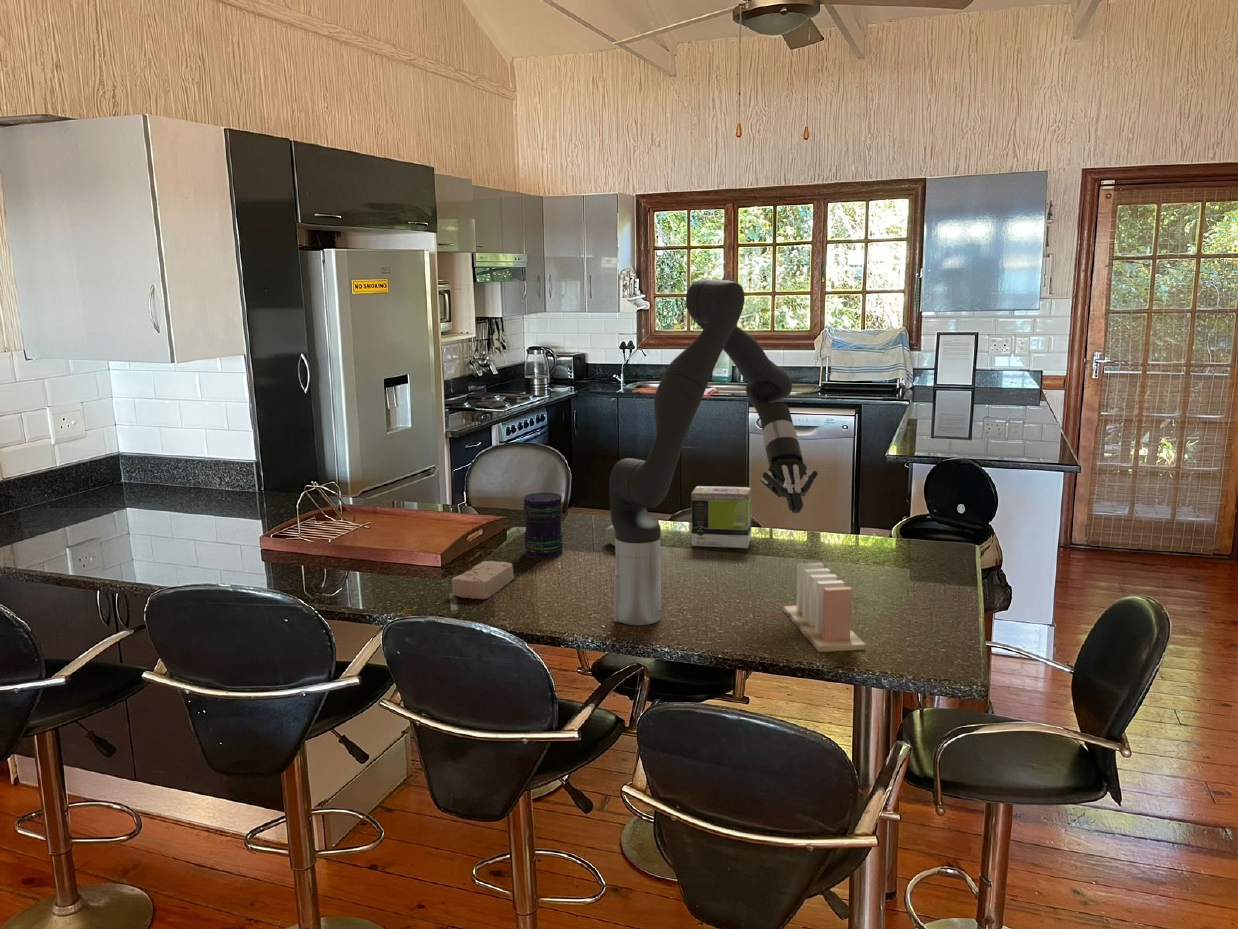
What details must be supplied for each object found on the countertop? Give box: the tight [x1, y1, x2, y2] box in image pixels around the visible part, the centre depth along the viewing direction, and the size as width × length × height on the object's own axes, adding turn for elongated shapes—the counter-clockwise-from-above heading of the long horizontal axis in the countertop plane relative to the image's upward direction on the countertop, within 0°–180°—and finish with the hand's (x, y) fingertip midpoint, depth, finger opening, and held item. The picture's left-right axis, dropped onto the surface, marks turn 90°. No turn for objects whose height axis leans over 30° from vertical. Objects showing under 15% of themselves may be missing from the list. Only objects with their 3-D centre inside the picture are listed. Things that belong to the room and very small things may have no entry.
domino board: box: [782, 604, 867, 653], centre depth 186 cm, size 23×9×1 cm, turn 7°
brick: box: [451, 560, 515, 600], centre depth 213 cm, size 17×8×5 cm, turn 163°
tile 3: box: [809, 573, 838, 626], centre depth 185 cm, size 2×5×10 cm, turn 97°
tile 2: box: [802, 567, 831, 619], centre depth 189 cm, size 2×5×10 cm, turn 97°
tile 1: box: [796, 562, 825, 612], centre depth 193 cm, size 2×5×10 cm, turn 97°
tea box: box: [690, 485, 752, 549], centre depth 248 cm, size 15×10×15 cm, turn 77°
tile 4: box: [815, 579, 845, 633], centre depth 181 cm, size 2×5×10 cm, turn 97°
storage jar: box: [523, 492, 564, 560], centre depth 240 cm, size 10×10×15 cm
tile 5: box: [822, 586, 853, 641], centre depth 177 cm, size 2×5×10 cm, turn 97°
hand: (797, 511), depth 200 cm, fingers closed
